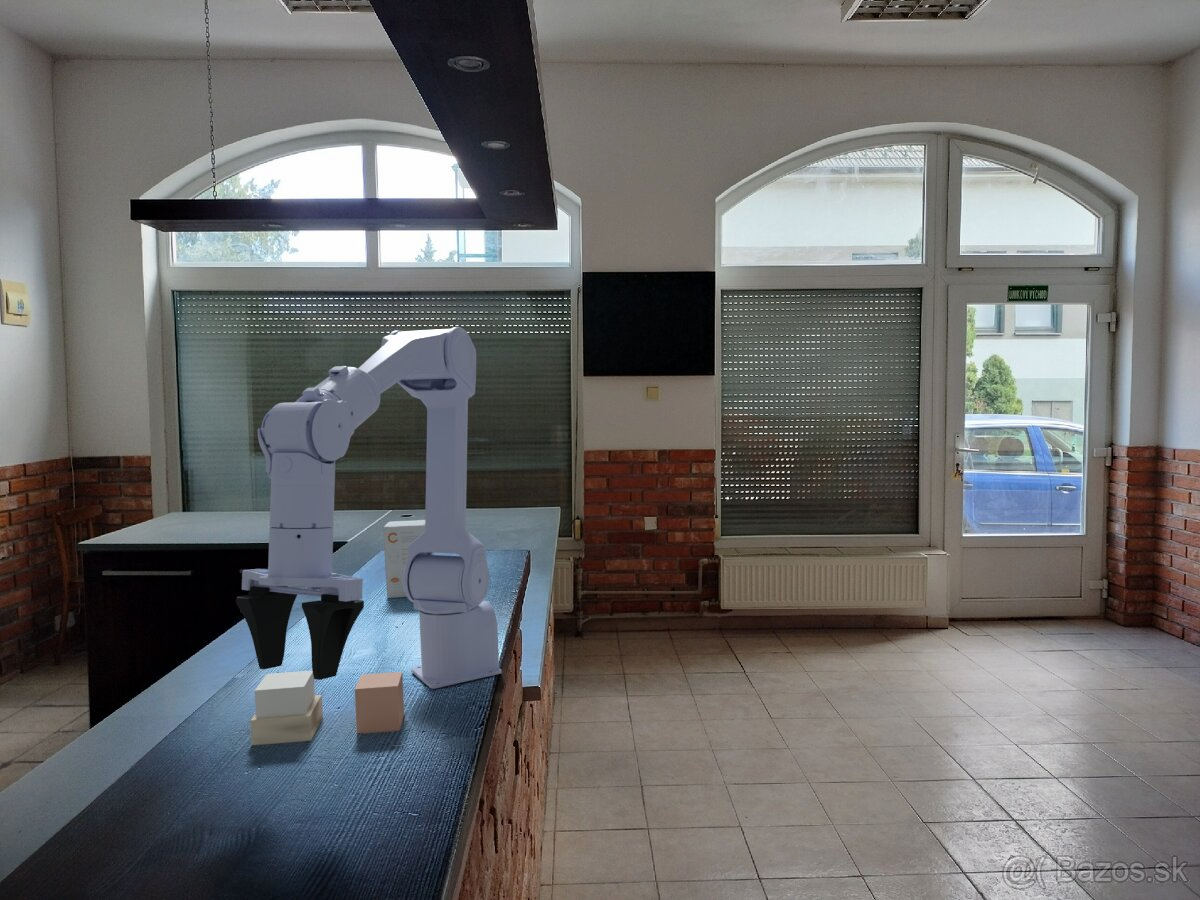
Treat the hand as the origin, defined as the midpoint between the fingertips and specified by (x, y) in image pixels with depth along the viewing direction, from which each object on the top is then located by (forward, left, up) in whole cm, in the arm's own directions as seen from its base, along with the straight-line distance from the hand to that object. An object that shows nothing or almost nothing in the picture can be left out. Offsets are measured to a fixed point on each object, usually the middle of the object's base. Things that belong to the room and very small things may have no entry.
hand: (297, 672), depth 76 cm
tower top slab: (-1, -13, -8) cm, 15 cm away
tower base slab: (-1, -13, -11) cm, 17 cm away
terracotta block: (-10, -9, -10) cm, 17 cm away
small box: (-32, -64, -11) cm, 72 cm away
